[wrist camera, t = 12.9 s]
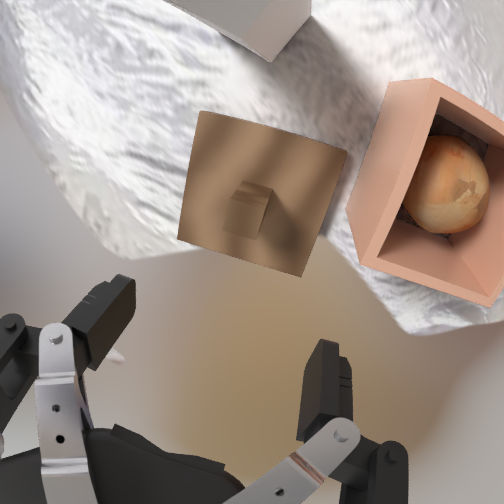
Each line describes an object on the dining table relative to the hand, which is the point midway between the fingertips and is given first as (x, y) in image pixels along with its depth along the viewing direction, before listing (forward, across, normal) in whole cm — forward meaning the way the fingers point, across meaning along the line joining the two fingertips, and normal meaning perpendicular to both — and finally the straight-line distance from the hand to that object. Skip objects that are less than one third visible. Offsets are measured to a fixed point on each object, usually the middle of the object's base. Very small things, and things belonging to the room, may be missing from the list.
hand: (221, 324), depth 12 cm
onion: (+24, -16, -6) cm, 29 cm away
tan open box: (+24, -15, -6) cm, 29 cm away
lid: (+23, +2, +3) cm, 23 cm away
